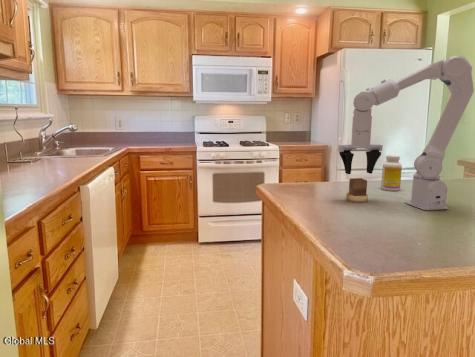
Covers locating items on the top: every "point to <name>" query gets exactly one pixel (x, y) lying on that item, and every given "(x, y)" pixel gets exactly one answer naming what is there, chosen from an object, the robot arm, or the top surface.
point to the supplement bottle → (391, 173)
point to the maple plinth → (356, 198)
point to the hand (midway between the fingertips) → (358, 173)
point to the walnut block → (358, 187)
